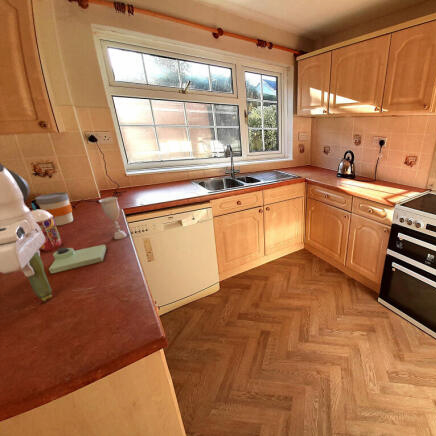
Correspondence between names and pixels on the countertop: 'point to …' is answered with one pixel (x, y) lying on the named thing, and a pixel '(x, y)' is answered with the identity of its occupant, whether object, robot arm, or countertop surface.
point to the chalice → (112, 213)
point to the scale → (77, 258)
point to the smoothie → (47, 228)
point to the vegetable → (39, 279)
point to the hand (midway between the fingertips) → (34, 269)
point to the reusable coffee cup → (56, 207)
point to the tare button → (62, 250)
